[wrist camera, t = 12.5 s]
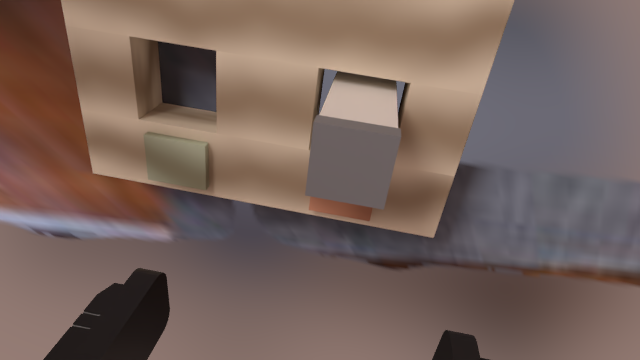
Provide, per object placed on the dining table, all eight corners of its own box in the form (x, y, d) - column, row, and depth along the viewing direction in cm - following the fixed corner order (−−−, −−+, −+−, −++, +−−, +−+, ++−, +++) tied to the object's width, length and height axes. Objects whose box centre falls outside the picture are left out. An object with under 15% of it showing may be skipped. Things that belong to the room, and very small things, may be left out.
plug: (336, 67, 28) (313, 122, 20) (397, 77, 28) (401, 136, 19) (329, 123, 30) (304, 195, 22) (385, 133, 30) (384, 209, 21)
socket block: (87, -70, 26) (39, -71, 23) (499, -8, 25) (517, 1, 21) (118, 153, 34) (88, 177, 31) (429, 210, 33) (434, 243, 29)
